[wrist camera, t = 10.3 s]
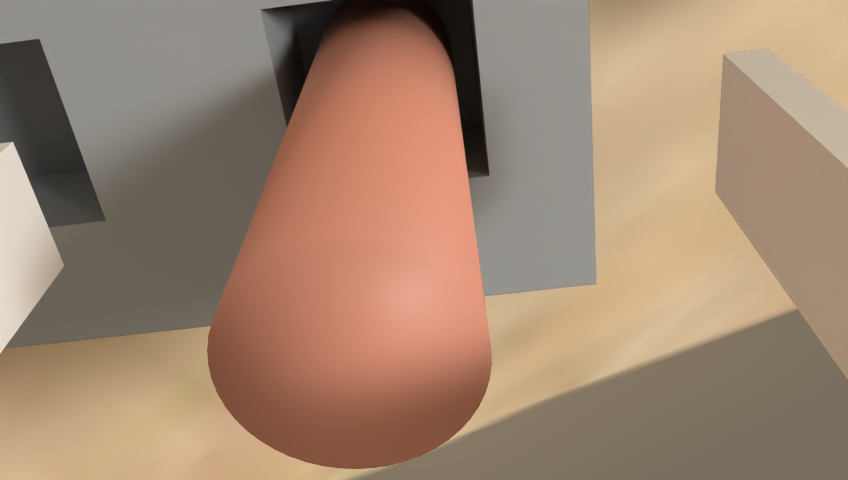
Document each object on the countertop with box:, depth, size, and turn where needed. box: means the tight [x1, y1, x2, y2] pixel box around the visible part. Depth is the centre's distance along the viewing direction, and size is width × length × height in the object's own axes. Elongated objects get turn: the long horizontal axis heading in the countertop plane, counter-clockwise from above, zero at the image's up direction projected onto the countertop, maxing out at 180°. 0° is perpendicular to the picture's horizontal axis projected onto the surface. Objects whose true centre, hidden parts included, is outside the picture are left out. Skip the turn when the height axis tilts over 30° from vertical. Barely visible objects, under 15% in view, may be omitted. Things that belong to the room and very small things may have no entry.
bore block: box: [0, 0, 596, 348], centre depth 21 cm, size 12×20×4 cm, turn 97°
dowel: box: [207, 0, 492, 469], centre depth 16 cm, size 4×4×14 cm
